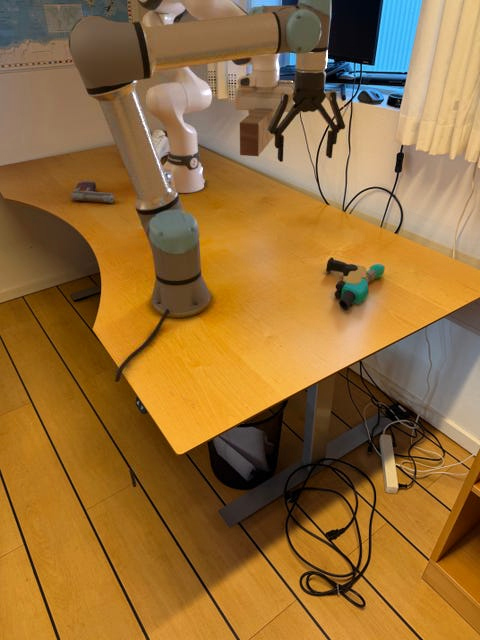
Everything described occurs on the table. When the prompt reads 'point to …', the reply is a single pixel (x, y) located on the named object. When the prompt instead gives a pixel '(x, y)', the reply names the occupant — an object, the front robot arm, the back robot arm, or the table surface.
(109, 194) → the toy gun
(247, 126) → the bar
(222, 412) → the table surface
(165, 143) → the sneaker
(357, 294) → the toy gun
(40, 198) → the table surface
